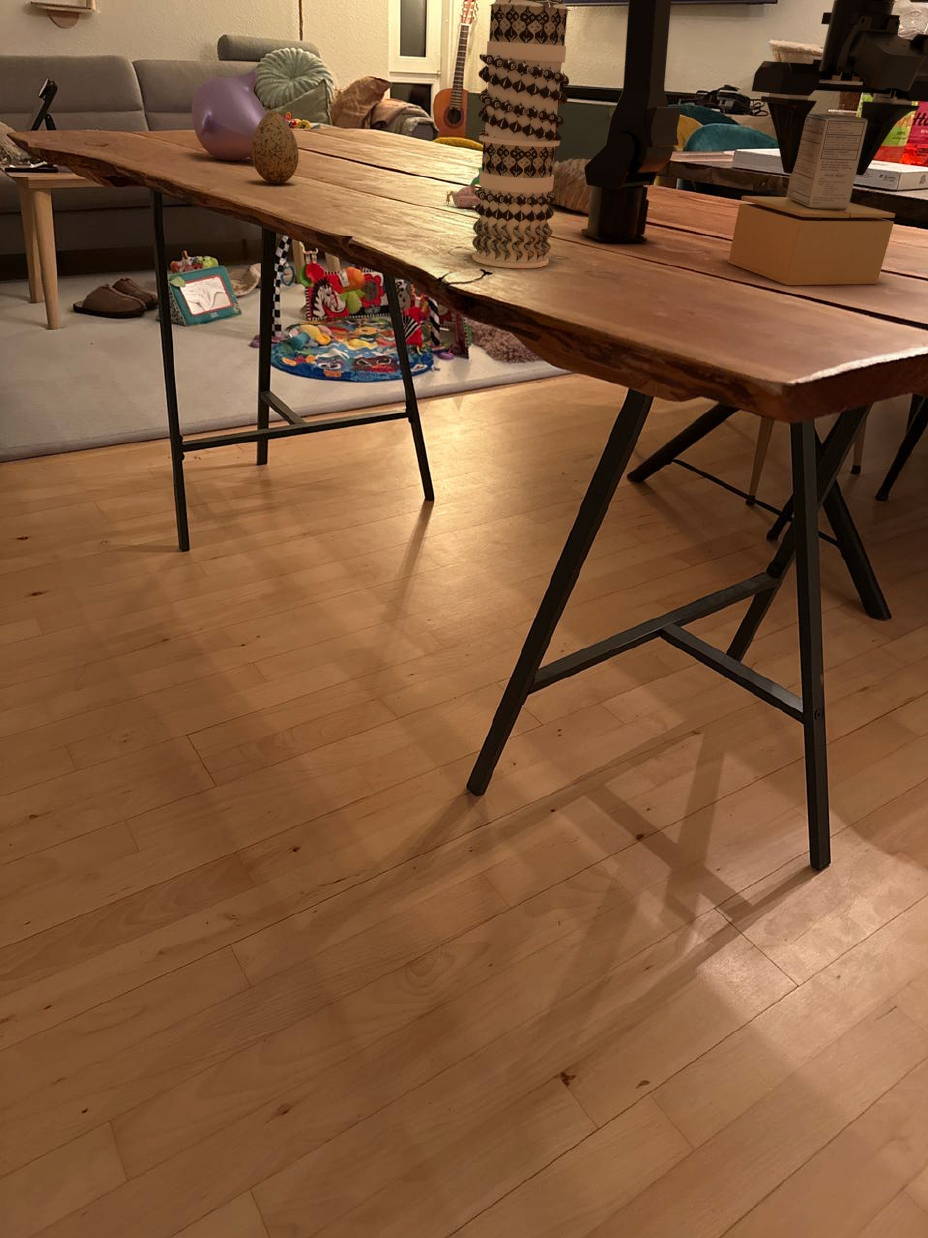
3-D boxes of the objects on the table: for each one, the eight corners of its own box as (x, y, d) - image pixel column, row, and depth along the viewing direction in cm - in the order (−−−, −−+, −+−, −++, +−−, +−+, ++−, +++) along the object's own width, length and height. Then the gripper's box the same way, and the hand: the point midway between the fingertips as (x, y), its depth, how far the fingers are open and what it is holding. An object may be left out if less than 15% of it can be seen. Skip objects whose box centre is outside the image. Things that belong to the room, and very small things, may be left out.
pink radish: (438, 215, 135) (512, 213, 125) (435, 170, 133) (511, 163, 123) (469, 213, 139) (544, 210, 129) (467, 168, 137) (543, 162, 126)
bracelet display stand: (455, 252, 105) (468, -15, 92) (528, 251, 108) (550, -8, 95) (489, 269, 98) (508, -17, 85) (566, 267, 101) (595, -9, 88)
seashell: (648, 194, 136) (622, 128, 130) (606, 234, 134) (577, 168, 128) (584, 199, 147) (557, 139, 141) (544, 236, 145) (515, 176, 139)
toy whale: (217, 155, 178) (243, 68, 172) (296, 196, 166) (327, 104, 160) (156, 129, 167) (182, 35, 161) (236, 170, 155) (267, 71, 149)
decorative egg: (254, 186, 142) (249, 111, 136) (251, 179, 148) (247, 108, 142) (301, 187, 143) (299, 113, 138) (297, 181, 149) (294, 110, 144)
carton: (787, 285, 100) (803, 212, 96) (728, 262, 109) (740, 195, 105) (877, 283, 103) (896, 213, 99) (812, 261, 113) (827, 196, 109)
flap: (802, 216, 96) (803, 212, 96) (740, 199, 106) (741, 195, 105) (848, 217, 98) (849, 213, 98) (783, 200, 107) (784, 196, 107)
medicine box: (848, 210, 99) (870, 118, 95) (807, 208, 99) (827, 116, 94) (822, 199, 106) (842, 113, 101) (784, 198, 106) (802, 111, 101)
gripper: (836, -8, 84) (795, 182, 92) (999, 7, 89) (946, 185, 97) (766, -5, 92) (733, 168, 101) (918, 8, 98) (875, 172, 106)
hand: (823, 173), depth 101 cm, fingers open, 9 cm apart
